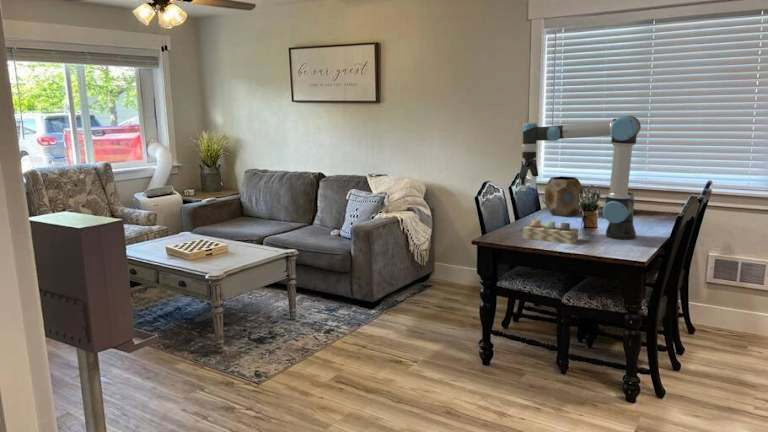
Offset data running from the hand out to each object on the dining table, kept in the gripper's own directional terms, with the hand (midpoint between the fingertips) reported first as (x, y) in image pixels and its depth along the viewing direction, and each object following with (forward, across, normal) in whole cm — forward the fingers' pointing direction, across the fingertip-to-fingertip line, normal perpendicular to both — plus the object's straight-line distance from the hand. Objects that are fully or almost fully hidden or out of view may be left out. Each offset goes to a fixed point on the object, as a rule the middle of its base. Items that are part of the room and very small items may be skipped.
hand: (528, 189), depth 321 cm
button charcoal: (+20, +8, +25) cm, 32 cm away
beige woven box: (+25, +8, +16) cm, 31 cm away
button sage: (+20, +8, +16) cm, 27 cm away
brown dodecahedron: (+25, -65, -4) cm, 70 cm away
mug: (+25, -88, -22) cm, 94 cm away
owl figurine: (+25, -87, +29) cm, 95 cm away
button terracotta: (+20, +8, +8) cm, 23 cm away
